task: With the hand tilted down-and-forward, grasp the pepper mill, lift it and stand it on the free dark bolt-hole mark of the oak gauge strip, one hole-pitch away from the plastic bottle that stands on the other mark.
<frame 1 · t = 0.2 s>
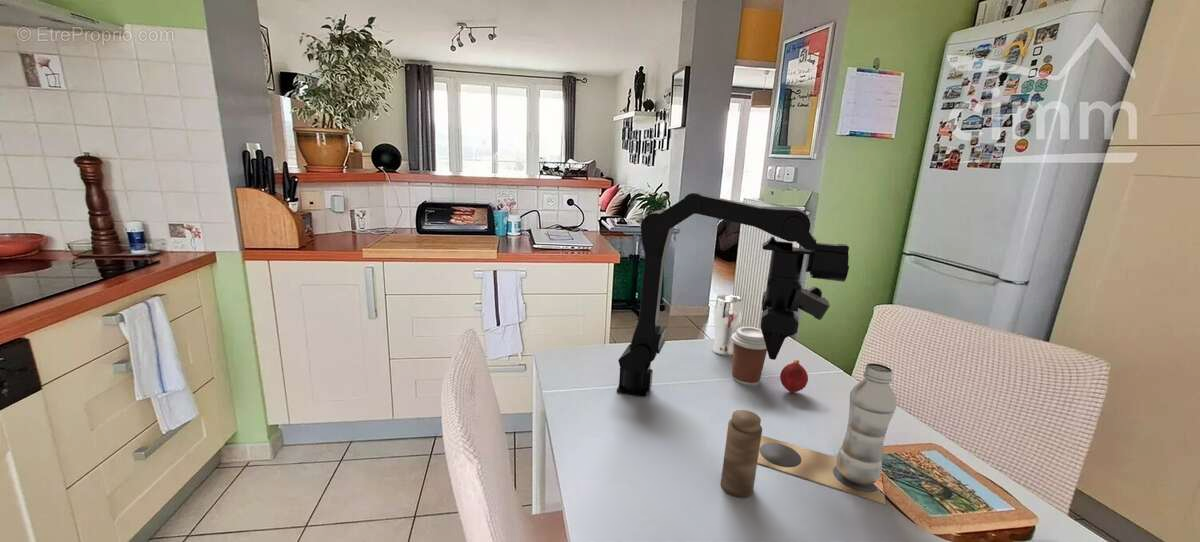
hand: (772, 350, 93), 14 cm above the table, tool pointing down, fingers open, 9 cm apart
onion: (791, 393, 107), on the table
coffee cup: (745, 379, 112), on the table
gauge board: (780, 455, 84), on the table
plastic bottle: (855, 478, 78), resting on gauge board
pepper mill: (736, 486, 75), on the table
white pump bottle: (723, 351, 128), on the table
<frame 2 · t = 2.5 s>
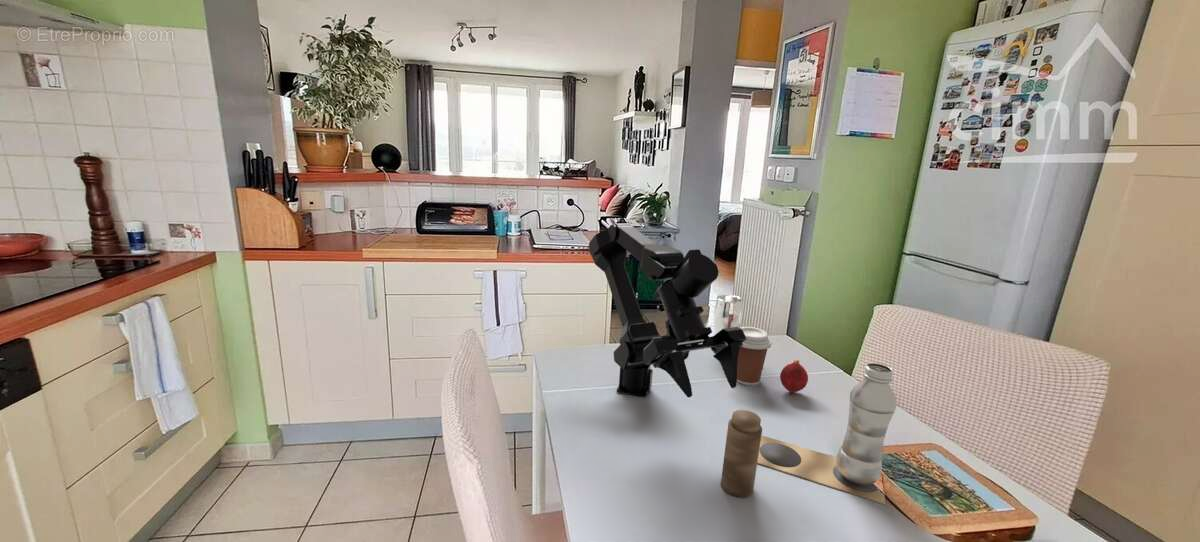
hand: (712, 392, 79), 13 cm above the table, tool tilted 45°, fingers open, 9 cm apart
nothing on the table moved.
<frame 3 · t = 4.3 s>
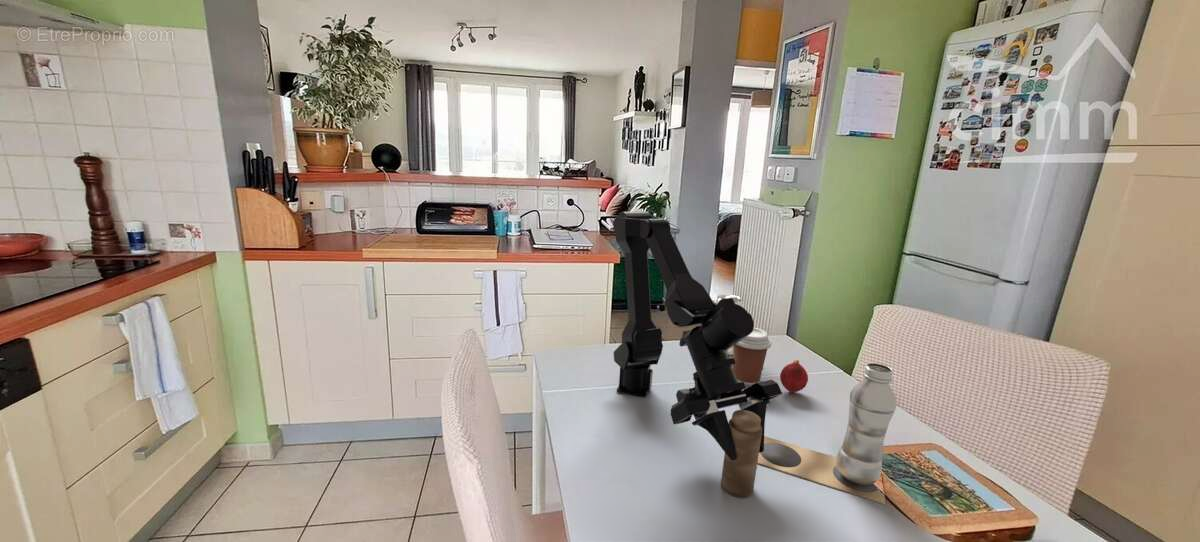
hand: (747, 456, 72), 7 cm above the table, tool tilted 45°, fingers closed on pepper mill, 5 cm apart
pepper mill: (736, 486, 75), on the table, touching gripper
everything else where it was.
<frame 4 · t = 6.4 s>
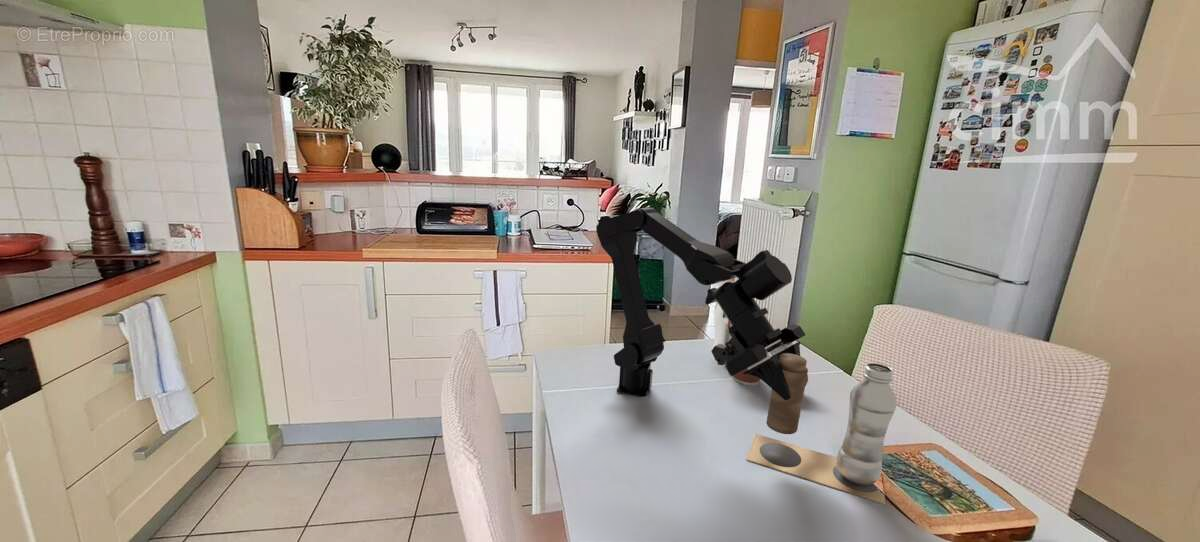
hand: (795, 394, 78), 13 cm above the table, tool tilted 45°, fingers closed on pepper mill, 5 cm apart
pepper mill: (781, 425, 81), point 7 cm above the table, touching gripper
everything else where it was.
when the fingers open (7 cm above the table, at t = 8.4 s): pepper mill stays where it is, resting on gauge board.
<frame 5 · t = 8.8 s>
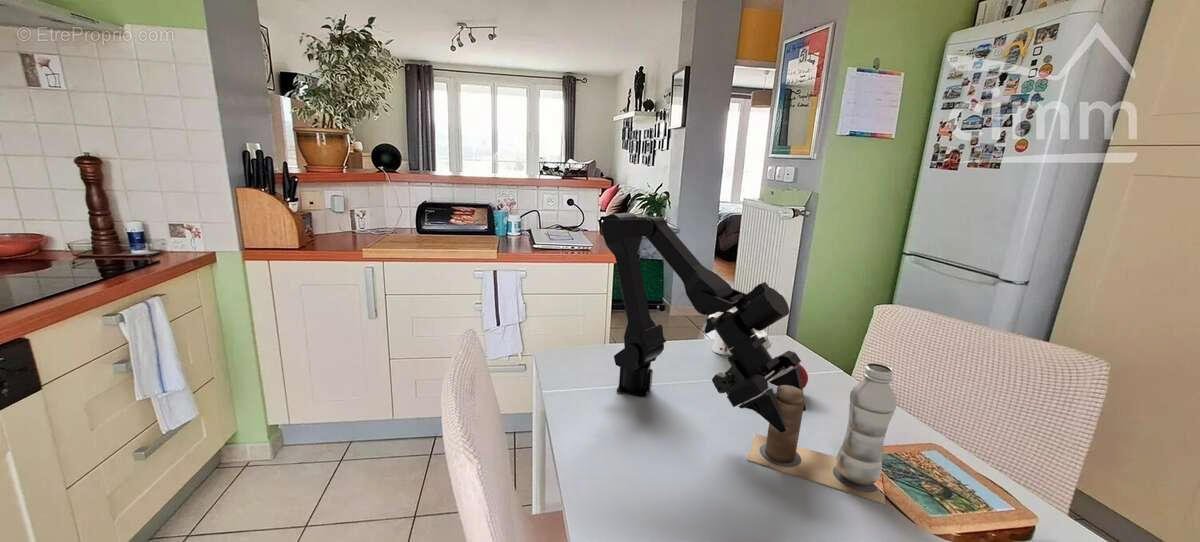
hand: (794, 421, 81), 8 cm above the table, tool tilted 45°, fingers open, 9 cm apart
pepper mill: (779, 454, 84), resting on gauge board
everything else where it was.
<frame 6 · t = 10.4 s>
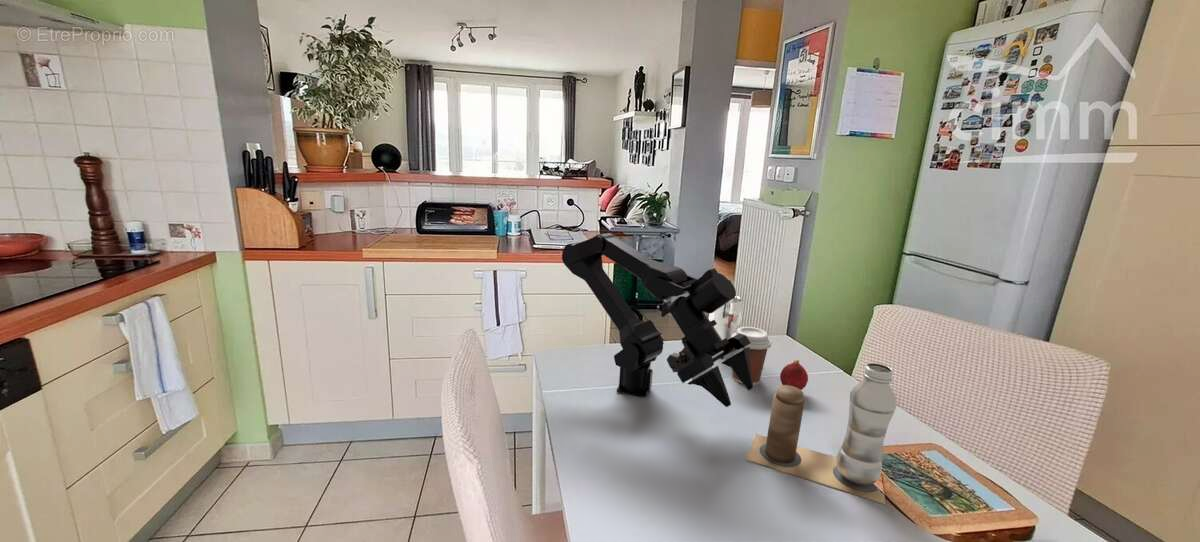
hand: (740, 397, 87), 8 cm above the table, tool tilted 45°, fingers open, 9 cm apart
nothing on the table moved.
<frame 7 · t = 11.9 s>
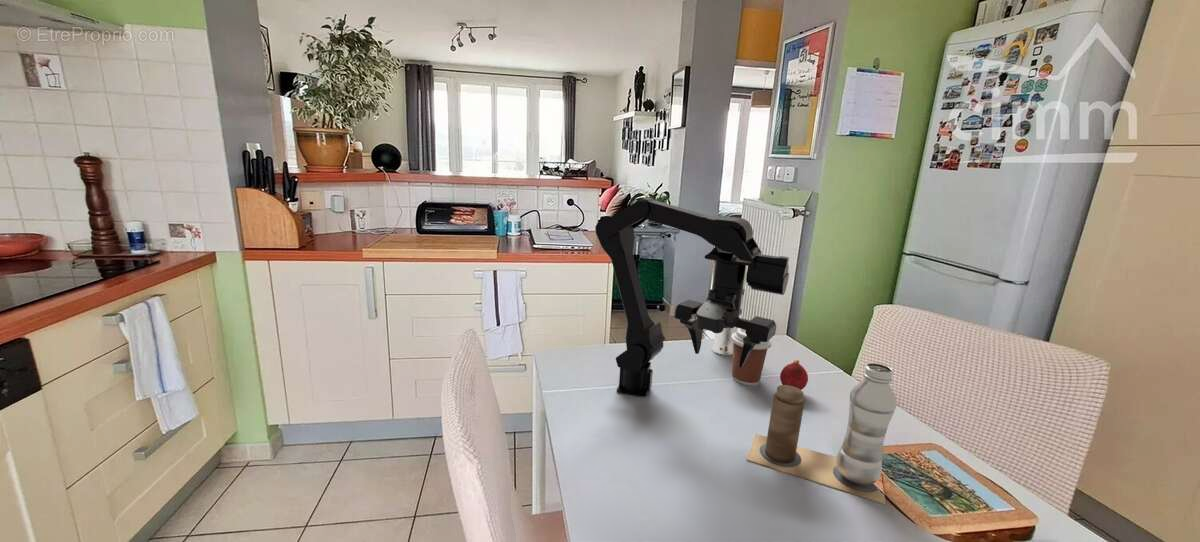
hand: (718, 359, 93), 12 cm above the table, tool pointing down, fingers open, 9 cm apart
nothing on the table moved.
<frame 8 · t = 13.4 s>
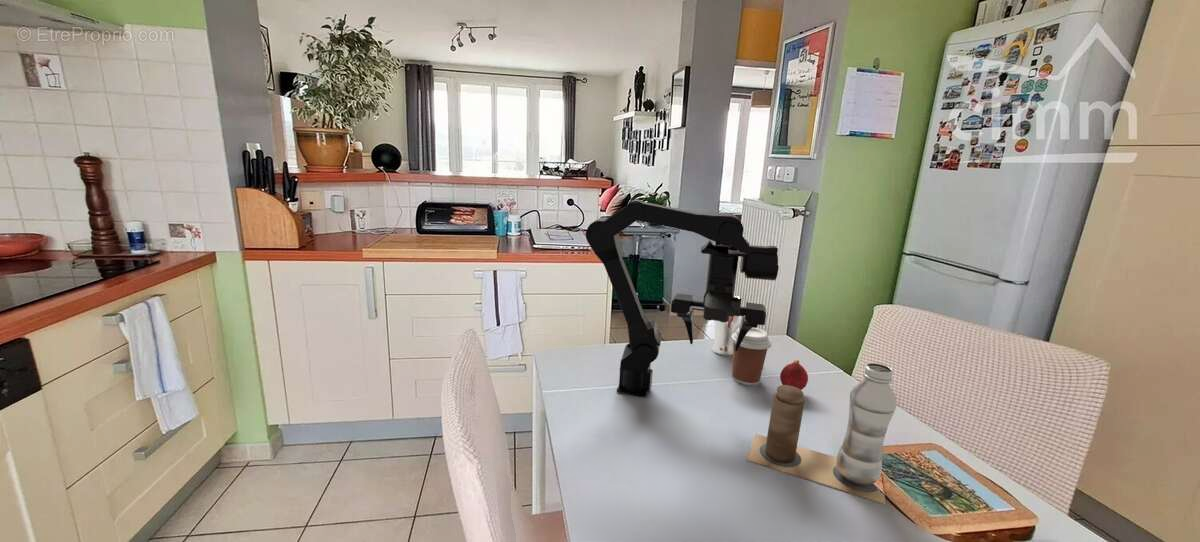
hand: (713, 346, 99), 12 cm above the table, tool pointing down, fingers open, 9 cm apart
nothing on the table moved.
at the end: pepper mill 0.1 cm off-centre on the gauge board, point 0.2 cm above the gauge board's base; pepper mill tilted 0°; plastic bottle moved 0.0 cm from its start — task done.
